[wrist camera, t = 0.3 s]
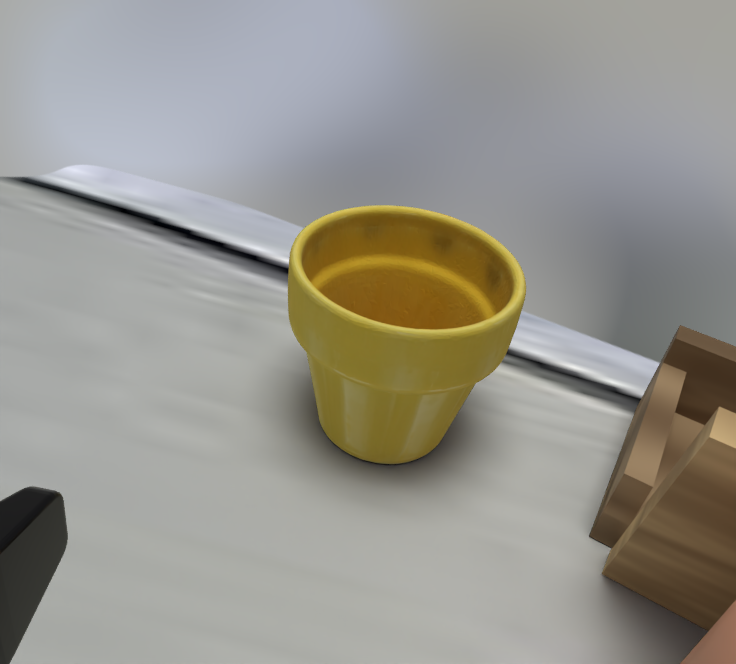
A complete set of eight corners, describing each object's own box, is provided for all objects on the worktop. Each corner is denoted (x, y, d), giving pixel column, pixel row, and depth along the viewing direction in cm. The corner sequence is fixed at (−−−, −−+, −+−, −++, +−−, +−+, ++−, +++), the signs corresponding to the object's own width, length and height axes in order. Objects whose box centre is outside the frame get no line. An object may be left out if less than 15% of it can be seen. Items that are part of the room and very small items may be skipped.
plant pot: (242, 451, 31) (244, 281, 25) (327, 334, 39) (343, 183, 33) (449, 530, 29) (504, 365, 23) (494, 389, 37) (544, 239, 31)
